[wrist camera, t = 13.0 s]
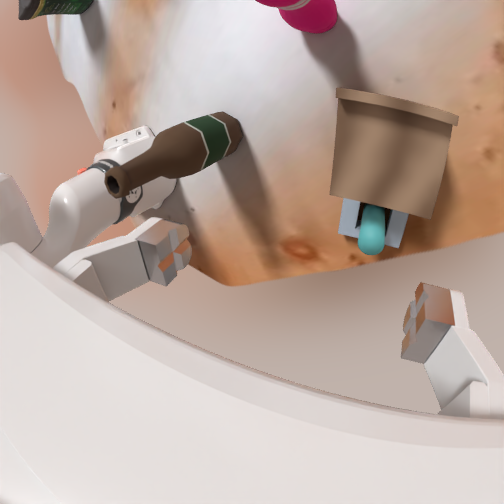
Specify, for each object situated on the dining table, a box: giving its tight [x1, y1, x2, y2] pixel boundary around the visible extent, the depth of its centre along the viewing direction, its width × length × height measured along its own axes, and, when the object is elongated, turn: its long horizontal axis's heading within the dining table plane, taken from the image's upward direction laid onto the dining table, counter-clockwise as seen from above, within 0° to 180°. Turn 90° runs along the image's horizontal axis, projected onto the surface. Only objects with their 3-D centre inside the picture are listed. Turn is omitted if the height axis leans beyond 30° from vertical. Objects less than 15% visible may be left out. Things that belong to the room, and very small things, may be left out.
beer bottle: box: [104, 112, 243, 199], centre depth 35 cm, size 8×8×24 cm
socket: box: [338, 198, 409, 248], centre depth 37 cm, size 10×16×3 cm, turn 0°
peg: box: [358, 203, 385, 255], centre depth 37 cm, size 4×4×10 cm
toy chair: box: [330, 88, 459, 220], centre depth 28 cm, size 12×12×14 cm
